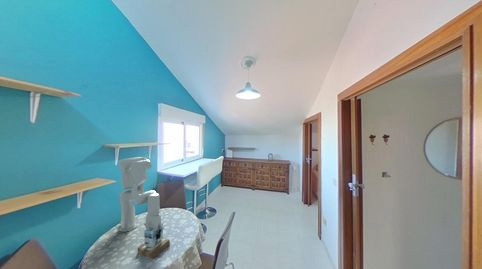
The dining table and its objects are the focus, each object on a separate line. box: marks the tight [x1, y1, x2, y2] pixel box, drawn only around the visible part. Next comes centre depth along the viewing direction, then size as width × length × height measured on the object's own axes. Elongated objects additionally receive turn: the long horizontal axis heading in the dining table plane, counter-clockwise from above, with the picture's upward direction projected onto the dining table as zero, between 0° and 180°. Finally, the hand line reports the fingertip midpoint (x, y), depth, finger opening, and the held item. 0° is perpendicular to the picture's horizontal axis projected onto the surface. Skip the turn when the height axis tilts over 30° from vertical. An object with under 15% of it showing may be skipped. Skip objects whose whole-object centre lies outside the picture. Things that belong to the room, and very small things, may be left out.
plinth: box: [137, 237, 171, 260], centre depth 117 cm, size 14×14×4 cm
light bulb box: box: [143, 222, 164, 247], centre depth 117 cm, size 11×7×11 cm, turn 168°
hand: (153, 236), depth 117 cm, fingers closed on light bulb box, 7 cm apart
